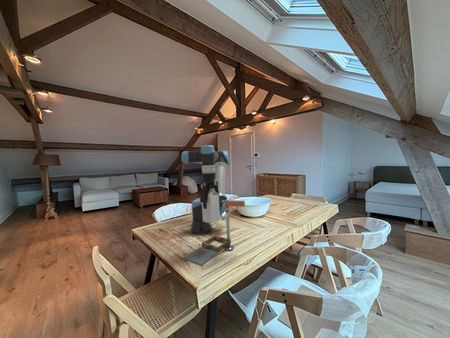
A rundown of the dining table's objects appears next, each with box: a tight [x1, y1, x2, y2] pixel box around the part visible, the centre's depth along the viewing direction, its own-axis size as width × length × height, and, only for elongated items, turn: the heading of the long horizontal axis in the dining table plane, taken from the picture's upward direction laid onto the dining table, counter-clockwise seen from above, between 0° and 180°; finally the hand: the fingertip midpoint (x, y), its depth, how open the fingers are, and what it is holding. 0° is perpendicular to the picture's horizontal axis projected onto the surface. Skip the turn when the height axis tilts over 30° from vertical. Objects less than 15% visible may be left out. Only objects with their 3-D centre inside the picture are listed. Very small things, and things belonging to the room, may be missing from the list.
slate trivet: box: [183, 246, 219, 266], centre depth 100 cm, size 13×13×1 cm
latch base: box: [224, 245, 235, 252], centre depth 106 cm, size 5×5×1 cm
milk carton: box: [202, 188, 221, 224], centre depth 106 cm, size 7×7×19 cm
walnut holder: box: [201, 234, 232, 253], centre depth 111 cm, size 12×12×2 cm
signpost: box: [220, 199, 246, 248], centre depth 100 cm, size 12×12×27 cm
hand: (210, 212), depth 106 cm, fingers closed on milk carton, 7 cm apart
